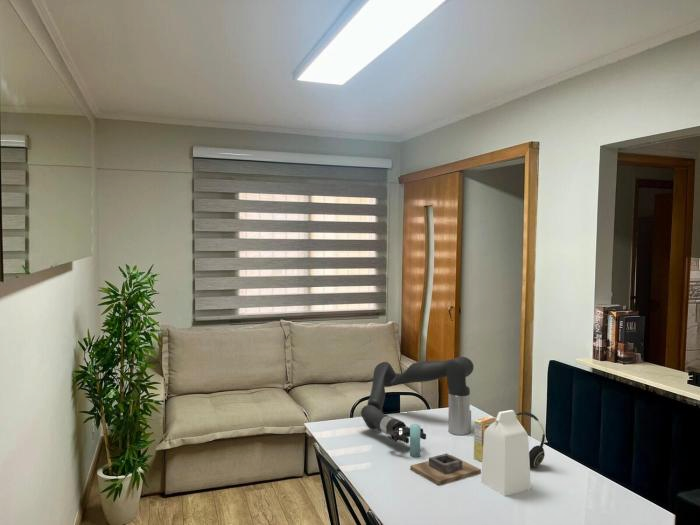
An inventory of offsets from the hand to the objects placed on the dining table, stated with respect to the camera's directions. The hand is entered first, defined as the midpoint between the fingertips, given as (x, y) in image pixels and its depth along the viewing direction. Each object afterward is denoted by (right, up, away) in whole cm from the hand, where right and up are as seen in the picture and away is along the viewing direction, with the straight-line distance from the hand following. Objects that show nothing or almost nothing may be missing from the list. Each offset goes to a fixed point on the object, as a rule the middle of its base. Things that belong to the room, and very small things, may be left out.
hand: (416, 438), depth 219 cm
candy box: (+27, -7, -1) cm, 28 cm away
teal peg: (-1, -7, +1) cm, 7 cm away
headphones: (+41, -8, -7) cm, 42 cm away
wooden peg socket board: (+9, -8, -14) cm, 18 cm away
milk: (+28, -8, -26) cm, 39 cm away
